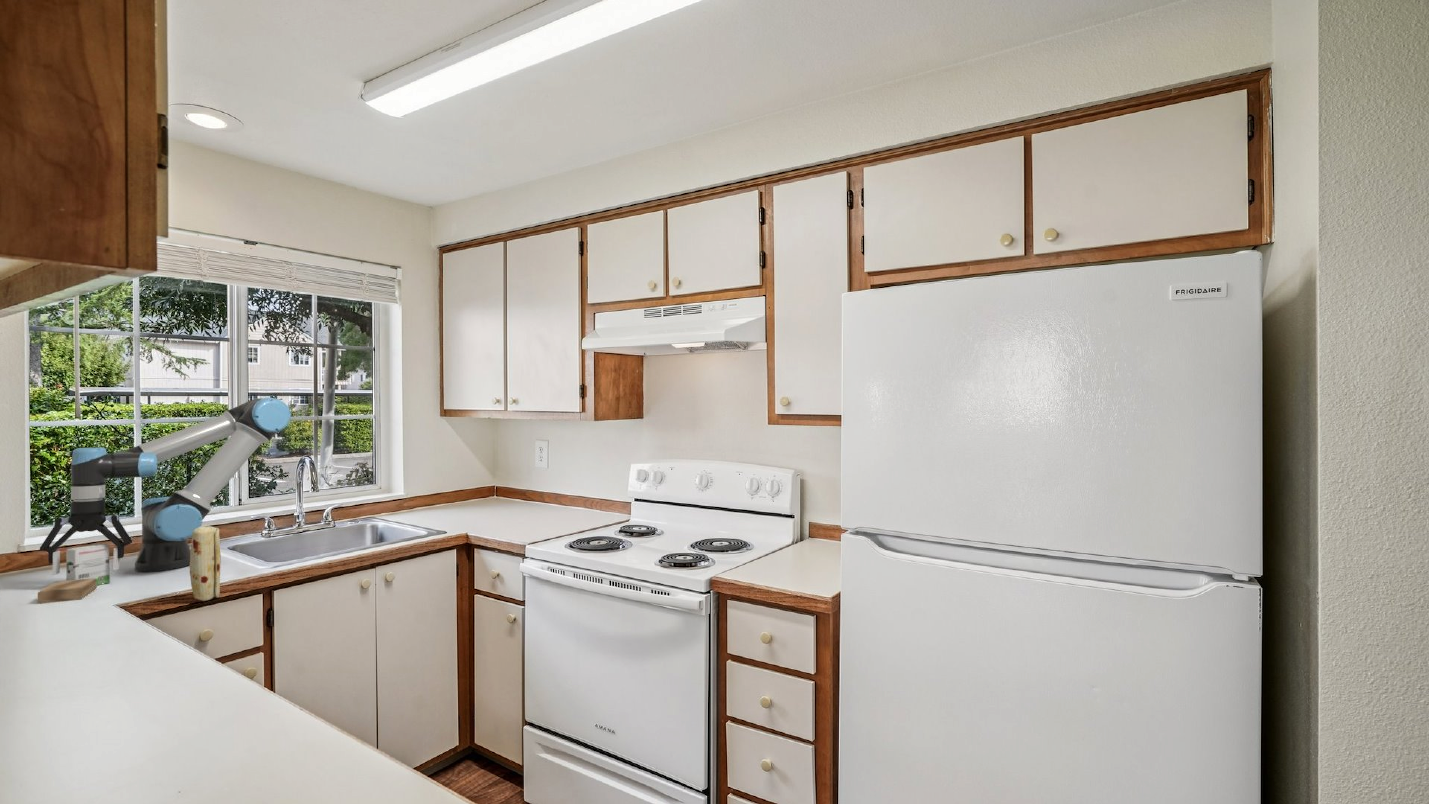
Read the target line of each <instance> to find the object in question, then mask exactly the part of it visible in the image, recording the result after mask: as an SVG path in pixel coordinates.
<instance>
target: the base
mask: <svg viewBox="0 0 1429 804" xmlns="http://www.w3.org/2000/svg"><path fill="white" fill-rule="evenodd" d="M97 586H98V585H97V579H95V578H92V579H81V580H70V581H66V580H63V581H62V580H61V581H55V582H54V583H52V584H50V585H48V586H46V587H45V588H43V589H42V590H39V591H38V592H37V604H38V605H39V604H48V603H49V604H50V603H57V602H58V603H60V602H69V601H76V600H82V598H83V599H84V598H86V597H87V596H89V595H90V594H92V593H93V592H95V591H96V590H97V589H96V588H98V587H97ZM95 589H96V590H95ZM94 590H95V591H94ZM92 591H93V592H92ZM91 592H92V593H91ZM88 594H89V595H88ZM85 596H86V597H85Z"/></svg>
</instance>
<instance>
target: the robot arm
mask: <svg viewBox="0 0 1429 804" xmlns="http://www.w3.org/2000/svg"><path fill="white" fill-rule="evenodd" d="M291 419H292V414H291V410H290V408H289V406H288V405H287V404H286V403H285V402H284V401H283V400H280V399H279V398H278V399H277V398H274V397H264V398H261V397H259V398H254V399H250V400H248V401H245V402H243V403H241V404H240V405H238V406H235V407H232V408H230V409H227V410H225V411H224V412H223V414H222V415H220V416H216V417H214V418H212V419H211V418H210V419H207V420H206V421H203V422H199V423H198V424H194V425H192V426H189V427H186V428H184V429H183V428H182V429H181V430H178V431H175V432H173V433H169V434H167V435H163V436H161V437H157V438H155V439H152V440H149V441H147V442H144V443H142V444H139V445H137V446H134V447H133V446H132V447H131V448H128V449H125V450H119V451H116V452H114V453H108V452H107V449H106V448H105V447H78V448H76V449H74V450H73V451H72V455H71V456H72V457H71V458H72V459H71V463H70V466H71V471H70V473H71V477H70V478H71V479H70V481H71V484H70V485H71V487H70V499H71V500H72V501H70V516H69V517H64V516H59V517H57V518H55V522H54V526H53V527H52V529H51V531H50V532H49V533H48V535H46V538H45V540H43V543H42V544H41V546H40V547H39V551H43V552H47V554H48V559H47V560H48V563H49V564H52V573H51V574H52V576H56V575H58V574H60V572H61V571H60V568H61V564H60V563H61V550H58V549H59V548H60V547H61V546H62V545H63V544H64V543H66V541H67V540H69V539H70V537H72V535H74V534H75V533H76V532H79V533H83V532H95V531H97V532H99V533H100V534H102V535H103V536H104V537H105V538H106V539H108V541H110V542H111V543H112V544H113V545H114V546H115V547H114V548H113V563H112V564H113V566H112V567H113V571H117V570H119V569H120V564H121V563H120V559H122V558H124V556H125V547H126V546H128V545H131V544H132V543H133V540H132V538H131V536H129V533H128V532H127V530H126V529H125V527H124V526H123V525H122V523H121V521H120V516H119V514H118V513H117V514H116V513H115V514H112V515H106V500H105V499H104V498H106V480H108V479H110V480H111V479H129V478H147V477H153V476H155V475H156V474H157V472H158V471H157V470H158V463H163V462H165V461H167V460H169V459H173V458H174V457H178V456H181V455H183V454H186V453H188V452H191V451H194V450H196V449H198V448H201V447H205V446H207V445H210V444H213V443H215V442H217V441H220V440H223V439H225V438H227V440H226V441H225V442H224V443H223V444H222V446H221V447H219V448H218V450H217V451H216V452H215V453H214V455H212V456H211V458H209V460H208V461H207V462H206V463H205V464H204V465H203V466H202V468H201V469H200V470H199V471H198V472H197V473H196V475H195V476H194V477H193V478H192V479H191V480H190V481H189V483H187V485H186V486H184V488H183V489H180V490H176V491H174V492H173V493H171V494H170V496H164V497H153V498H152V497H151V498H146V499H144V500H143V501H142V505H141V507H140V508H141V547H140V549H139V552H138V555H137V557H136V560H135V562H134V570H135V571H136V570H137V571H136V572H144V571H147V572H160V571H161V570H162V571H168V570H167V569H170V570H173V569H172V568H176V569H181V568H185V567H187V566H186V565H189V566H190V550H191V546H190V545H189V542H188V540H189V539H190V538H192V534H193V531H194V530H195V529H196V528H199V527H202V524H203V520H204V519H205V517H207V515H208V514H209V513H210V512H211V503H212V502H213V500H214V499H215V498H216V497H217V495H219V493H220V492H221V491H222V490H223V489H224V488H225V486H226V485H227V484H228V483H229V482H230V481H231V479H232V478H233V477H234V476H235V475H236V474H237V473H238V471H239V470H240V469H241V467H243V465H244V464H245V463H246V462H247V461H248V459H249V458H250V457H251V456H252V455H253V454H254V453H255V451H256V450H257V449H258V448H259V447H260V445H262V444H266V443H270V441H271V440H272V439H273V437H275V435H276V434H277V433H278V432H281V431H282V430H284V429H285V428H286V427H288V426H289V424H290V422H291ZM106 521H108V522H109V523H111V524H112V526H113V527H114V529H115V531H116V532H117V534H118V535H119V537H120V538H119V537H118V536H117V535H116V534H115V533H114V532H112V531H111V530H110V529H109V528H108V527H107V526H106V525H105V524H104V523H106ZM67 523H68V524H69V525H70V526H71V527H70V528H69V529H68V530H67V531H66V532H65V533H64V534H63V535H62V536H61V537H60V538H59V539H58V540H57V541H56V542H55V543H53V542H54V540H55V538H56V537H57V535H58V534H59V532H60V531H61V529H62V527H63V526H64V525H66V524H67ZM52 543H53V544H52ZM184 566H185V567H184ZM180 567H181V568H180Z"/></svg>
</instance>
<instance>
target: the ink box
mask: <svg viewBox="0 0 1429 804" xmlns="http://www.w3.org/2000/svg"><path fill="white" fill-rule="evenodd" d="M65 551H66V552H65V553H66V555H65V556H66V558H65V559H66V569H65V570H66V571H65V572H66V574H65V575H66V579H65V581H70V580H81V579H92V578H95V579H97V586H100V585H99V584H101V585H103V584H102V583H106V584H108V583H109V582H110V583H111V581H110V580H111V579H110V578H111V577H110V574H111V573H110V570H111V569H110V545H109V544H108V543H96V544H90V545H86V546H85V545H84V546H80V547H72V548H67V549H66V550H65ZM110 583H109V584H110Z"/></svg>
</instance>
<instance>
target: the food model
mask: <svg viewBox="0 0 1429 804" xmlns="http://www.w3.org/2000/svg"><path fill="white" fill-rule="evenodd" d="M190 541H191V542H190V543H191V545H190V565H189V576H190V585H191V590H192V598H193V600H194V602H195V603H196V602H197V603H200V602H205V601H209V600H212V599H214V597H215V598H219V597H220V589H221V588H220V586H221V585H220V583H221V564H222V561H221V560H222V558H221V557H222V554H221V546H220V545H221V540H220V529H219V527H215V526H211V525H207V526H201V527H199V528H196V529H195V530H194V531H193V534H192V537H191V540H190Z"/></svg>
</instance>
